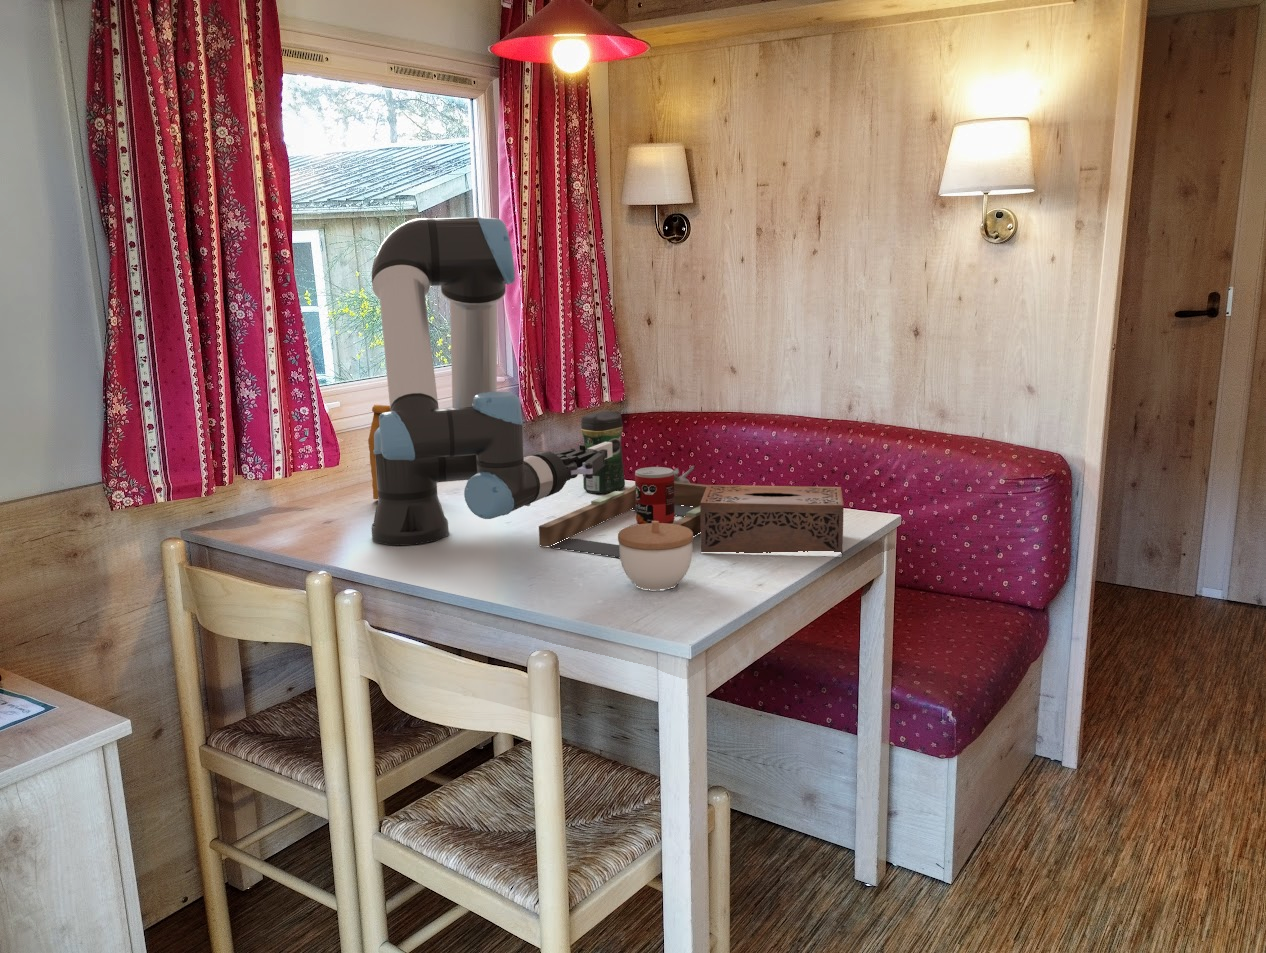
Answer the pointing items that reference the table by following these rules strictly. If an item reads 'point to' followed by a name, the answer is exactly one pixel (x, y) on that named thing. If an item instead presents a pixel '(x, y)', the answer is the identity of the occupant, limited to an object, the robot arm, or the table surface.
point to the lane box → (619, 504)
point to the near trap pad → (589, 547)
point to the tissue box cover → (771, 519)
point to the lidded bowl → (655, 554)
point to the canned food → (654, 495)
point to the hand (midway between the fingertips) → (608, 449)
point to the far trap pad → (679, 510)
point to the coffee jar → (609, 430)
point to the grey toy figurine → (682, 477)
